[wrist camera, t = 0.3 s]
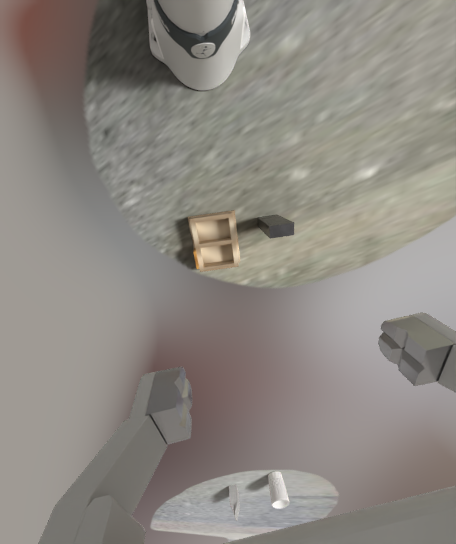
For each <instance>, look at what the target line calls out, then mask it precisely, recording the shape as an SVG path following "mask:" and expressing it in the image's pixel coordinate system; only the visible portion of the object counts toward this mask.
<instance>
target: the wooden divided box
mask: <svg viewBox="0 0 456 544" xmlns="http://www.w3.org/2000/svg"><path fill="white" fill-rule="evenodd" d="M188 222H189V227H190V232H191V237H192V242H193V247H194V252H193V253H194V257H195V262H196V267H197V269H200V272H203V271H210V270H217V269H224V268H231V267H238V266H239V265H238V263H239V262H240V254H239V245H238V236H237V228H236V219H235V211H234V210H233V211H226V212H219V213H212V214H205V215H198V216H191V217H188Z"/></svg>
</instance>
